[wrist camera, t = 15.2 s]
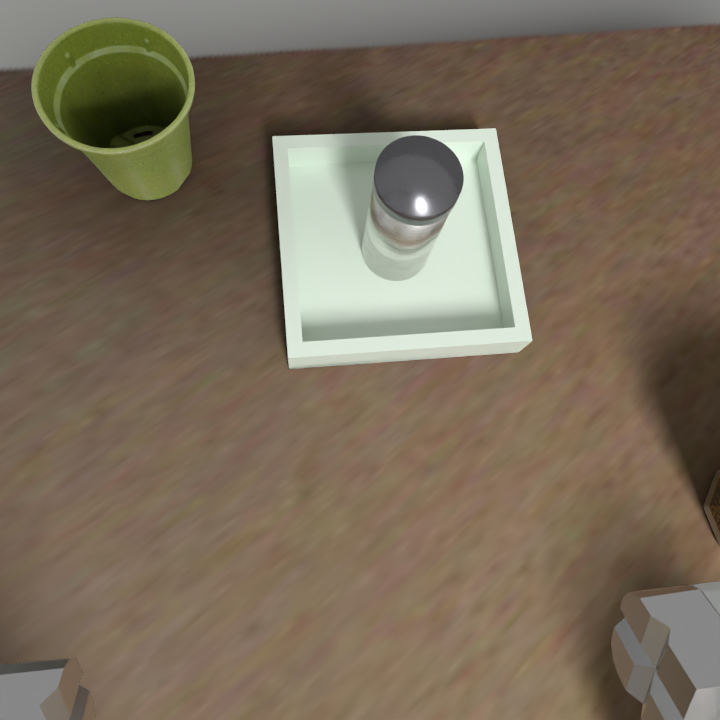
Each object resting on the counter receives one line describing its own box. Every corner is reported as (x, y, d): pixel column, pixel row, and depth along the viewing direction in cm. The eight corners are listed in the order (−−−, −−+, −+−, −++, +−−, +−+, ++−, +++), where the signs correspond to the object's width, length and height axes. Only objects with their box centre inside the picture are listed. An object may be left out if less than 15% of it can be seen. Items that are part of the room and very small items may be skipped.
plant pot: (97, 237, 44) (48, 168, 36) (69, 123, 46) (16, 33, 38) (229, 205, 45) (212, 131, 37) (196, 96, 48) (173, 3, 39)
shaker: (364, 285, 44) (380, 218, 34) (356, 219, 45) (369, 137, 36) (434, 279, 45) (469, 213, 35) (424, 215, 46) (456, 133, 36)
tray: (288, 369, 43) (288, 358, 40) (274, 159, 47) (272, 136, 44) (518, 352, 44) (532, 340, 42) (485, 150, 48) (495, 128, 46)
